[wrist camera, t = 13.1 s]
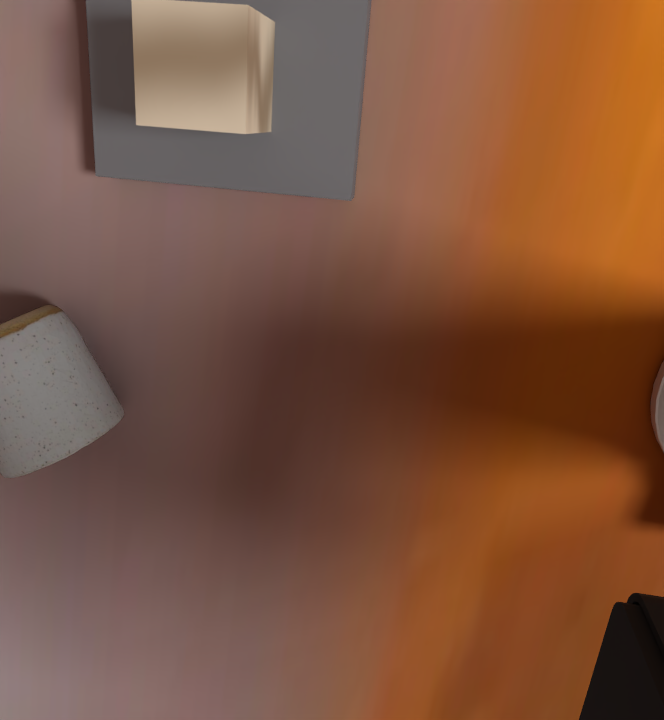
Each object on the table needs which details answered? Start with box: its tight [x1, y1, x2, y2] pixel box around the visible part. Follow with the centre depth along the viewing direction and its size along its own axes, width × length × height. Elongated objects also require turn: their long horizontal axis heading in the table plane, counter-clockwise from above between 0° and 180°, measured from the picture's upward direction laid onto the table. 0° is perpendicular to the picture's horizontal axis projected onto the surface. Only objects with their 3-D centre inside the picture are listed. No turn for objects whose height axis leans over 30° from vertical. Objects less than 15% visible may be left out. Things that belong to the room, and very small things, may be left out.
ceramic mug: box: [0, 305, 124, 478], centre depth 38 cm, size 11×8×8 cm
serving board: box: [86, 0, 371, 201], centre depth 33 cm, size 11×14×2 cm
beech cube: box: [131, 0, 275, 134], centre depth 29 cm, size 5×5×5 cm
